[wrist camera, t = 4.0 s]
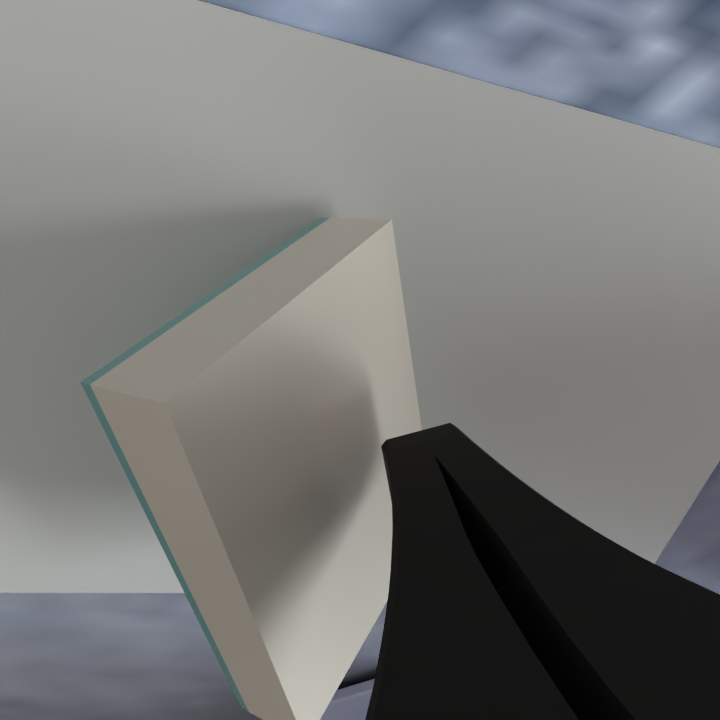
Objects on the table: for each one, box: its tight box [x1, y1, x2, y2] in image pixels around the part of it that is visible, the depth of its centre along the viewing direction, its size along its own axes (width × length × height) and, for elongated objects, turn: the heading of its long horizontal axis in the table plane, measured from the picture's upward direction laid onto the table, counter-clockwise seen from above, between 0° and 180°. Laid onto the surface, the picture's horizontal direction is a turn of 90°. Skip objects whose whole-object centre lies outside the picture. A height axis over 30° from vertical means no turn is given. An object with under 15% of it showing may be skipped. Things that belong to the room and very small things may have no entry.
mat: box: [0, 0, 720, 593], centre depth 15 cm, size 20×14×1 cm
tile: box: [80, 218, 422, 720], centre depth 12 cm, size 8×2×6 cm
